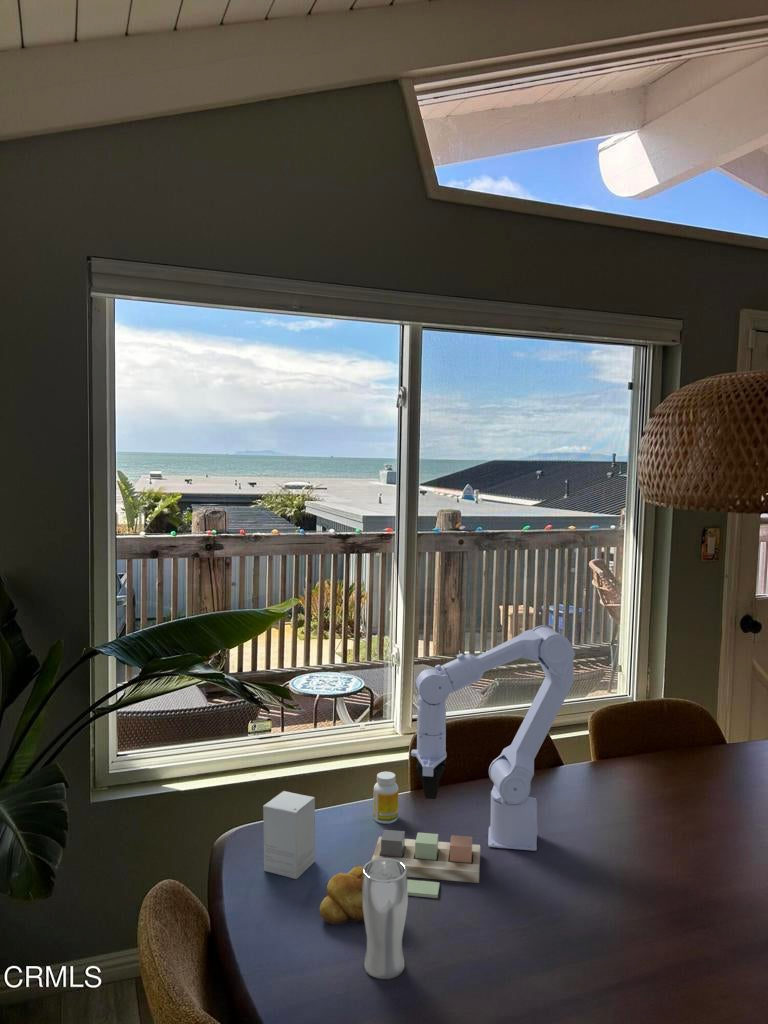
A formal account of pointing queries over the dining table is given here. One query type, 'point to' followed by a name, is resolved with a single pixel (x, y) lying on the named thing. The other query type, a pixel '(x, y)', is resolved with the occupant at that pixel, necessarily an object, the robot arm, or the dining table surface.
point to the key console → (436, 863)
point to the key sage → (426, 846)
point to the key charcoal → (393, 843)
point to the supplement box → (289, 834)
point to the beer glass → (384, 916)
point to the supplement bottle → (385, 798)
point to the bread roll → (343, 898)
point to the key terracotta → (461, 849)
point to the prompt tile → (423, 888)
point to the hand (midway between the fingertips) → (430, 797)
